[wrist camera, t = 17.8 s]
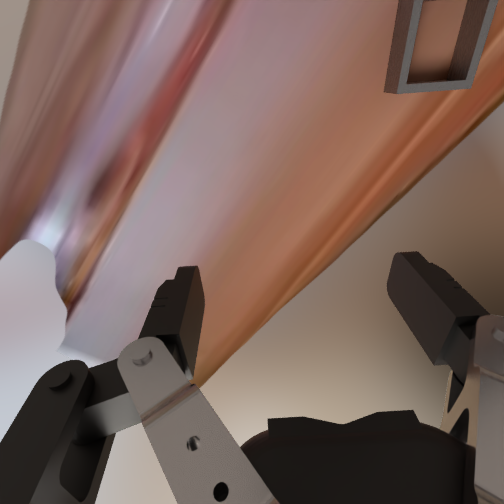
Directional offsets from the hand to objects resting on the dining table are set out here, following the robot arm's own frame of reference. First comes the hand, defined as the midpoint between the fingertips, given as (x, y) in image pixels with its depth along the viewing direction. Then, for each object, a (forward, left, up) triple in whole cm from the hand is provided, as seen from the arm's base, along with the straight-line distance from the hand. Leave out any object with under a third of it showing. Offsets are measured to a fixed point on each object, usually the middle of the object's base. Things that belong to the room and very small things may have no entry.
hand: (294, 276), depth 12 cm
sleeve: (-9, +23, -36) cm, 44 cm away
